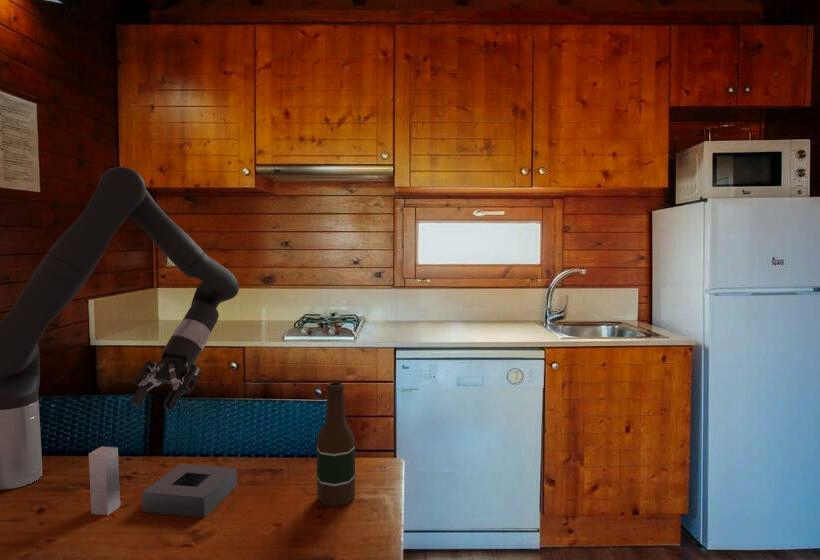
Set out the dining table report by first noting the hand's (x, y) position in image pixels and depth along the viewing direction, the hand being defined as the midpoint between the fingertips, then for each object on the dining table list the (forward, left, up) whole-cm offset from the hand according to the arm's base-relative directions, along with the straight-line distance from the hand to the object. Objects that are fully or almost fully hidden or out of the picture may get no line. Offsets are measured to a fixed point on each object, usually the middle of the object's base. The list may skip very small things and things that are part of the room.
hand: (150, 406), depth 115 cm
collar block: (+12, -5, -17) cm, 21 cm away
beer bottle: (+41, 0, -17) cm, 44 cm away
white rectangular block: (-2, -12, -17) cm, 21 cm away
